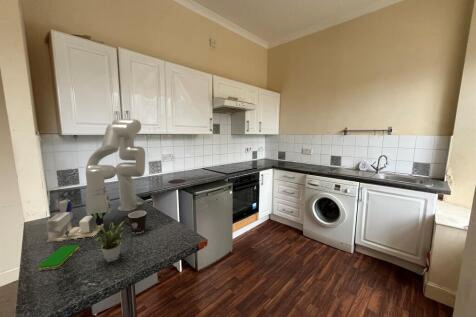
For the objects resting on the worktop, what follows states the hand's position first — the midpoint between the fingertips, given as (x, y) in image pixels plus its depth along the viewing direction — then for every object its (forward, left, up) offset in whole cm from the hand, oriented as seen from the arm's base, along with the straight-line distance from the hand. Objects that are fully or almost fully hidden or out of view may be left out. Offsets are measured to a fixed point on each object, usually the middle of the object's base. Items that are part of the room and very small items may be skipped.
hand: (100, 224), depth 108 cm
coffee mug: (-19, +5, -4) cm, 20 cm away
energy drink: (+23, -18, -4) cm, 30 cm away
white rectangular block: (+6, +1, -2) cm, 6 cm away
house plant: (-12, +28, -4) cm, 31 cm away
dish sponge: (+7, +22, -4) cm, 24 cm away
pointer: (+13, +5, -2) cm, 14 cm away
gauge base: (+10, 0, -4) cm, 11 cm away
